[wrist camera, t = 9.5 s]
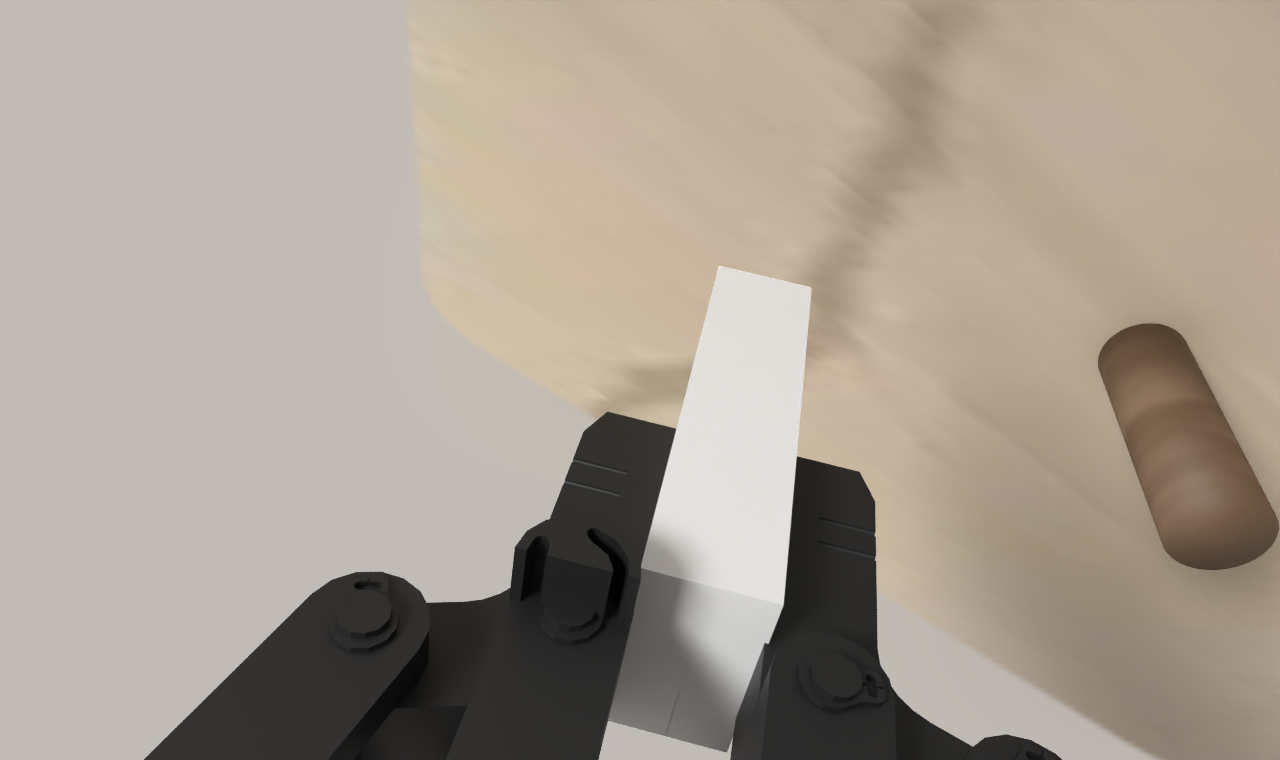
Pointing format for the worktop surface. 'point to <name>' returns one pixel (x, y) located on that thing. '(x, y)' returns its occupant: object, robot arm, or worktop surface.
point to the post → (1185, 451)
